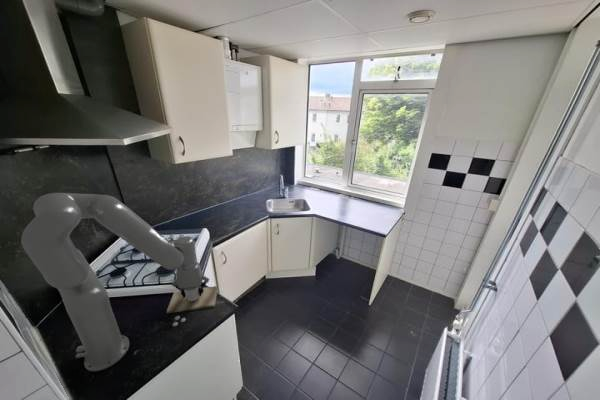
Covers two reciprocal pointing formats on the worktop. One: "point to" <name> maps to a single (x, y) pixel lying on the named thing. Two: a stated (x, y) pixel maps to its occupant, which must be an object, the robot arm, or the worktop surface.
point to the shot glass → (192, 293)
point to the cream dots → (177, 319)
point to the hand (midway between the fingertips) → (192, 294)
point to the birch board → (202, 302)
